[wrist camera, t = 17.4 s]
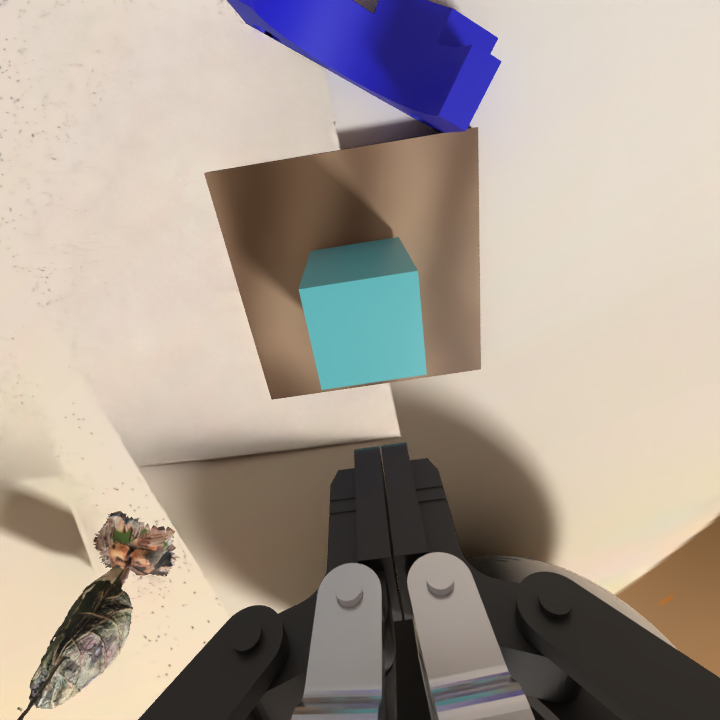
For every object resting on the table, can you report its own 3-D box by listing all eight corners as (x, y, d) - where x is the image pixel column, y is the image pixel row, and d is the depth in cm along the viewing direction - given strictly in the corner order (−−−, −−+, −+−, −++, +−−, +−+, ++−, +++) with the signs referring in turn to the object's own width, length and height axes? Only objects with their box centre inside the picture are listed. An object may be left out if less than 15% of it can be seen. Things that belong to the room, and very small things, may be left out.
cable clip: (480, 49, 23) (521, 22, 18) (439, 133, 25) (465, 131, 20) (275, -81, 20) (251, -158, 15) (246, 24, 22) (216, -13, 17)
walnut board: (472, 127, 25) (478, 127, 24) (476, 361, 32) (480, 369, 31) (209, 171, 25) (204, 173, 24) (274, 391, 33) (271, 399, 32)
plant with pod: (74, 564, 41) (-125, 879, 24) (118, 497, 37) (-84, 815, 20) (151, 592, 44) (22, 896, 26) (200, 531, 40) (86, 842, 22)
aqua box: (398, 236, 26) (417, 270, 19) (407, 319, 28) (426, 374, 22) (310, 250, 26) (298, 289, 19) (326, 331, 29) (321, 390, 22)
